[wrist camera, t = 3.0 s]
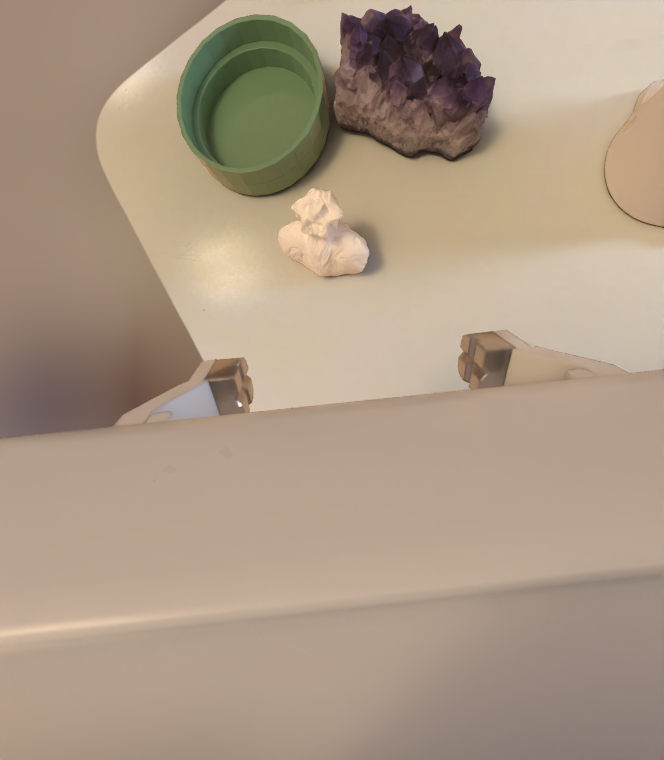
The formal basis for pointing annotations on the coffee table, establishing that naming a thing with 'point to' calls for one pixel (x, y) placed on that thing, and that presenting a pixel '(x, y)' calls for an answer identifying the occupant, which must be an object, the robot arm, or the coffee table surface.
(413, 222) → the coffee table surface
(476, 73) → the geode
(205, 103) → the bowl
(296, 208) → the bust
